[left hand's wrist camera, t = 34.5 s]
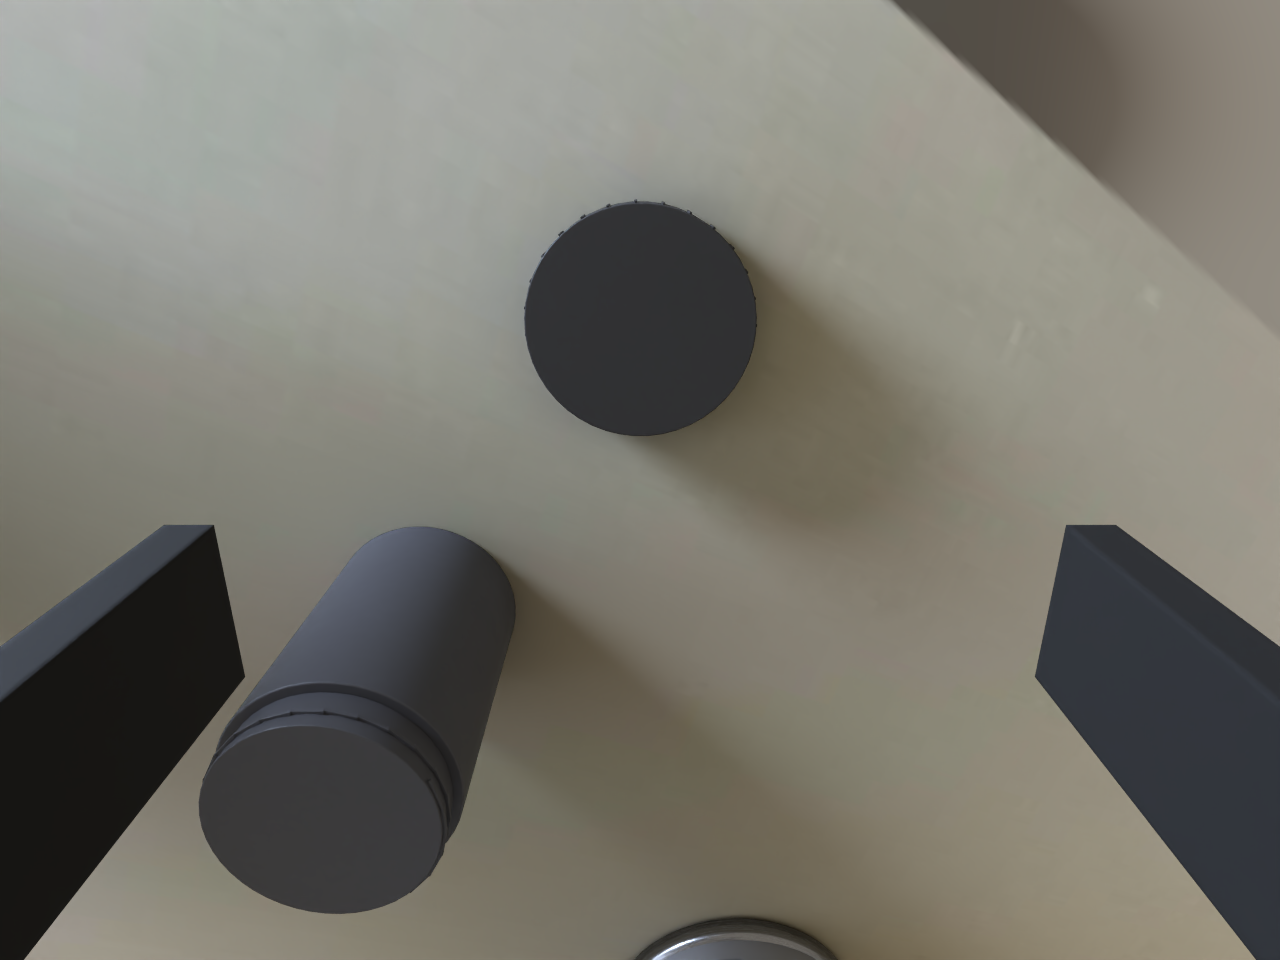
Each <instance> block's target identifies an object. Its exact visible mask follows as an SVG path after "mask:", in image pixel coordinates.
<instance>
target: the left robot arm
mask: <svg viewBox="0 0 1280 960" xmlns="http://www.w3.org/2000/svg"><path fill="white" fill-rule="evenodd" d="M244 677H245V674H244V669H243V664H242V659H241V655H240V650H239V645H238V640H237V635H236V630H235V626H234V621H233V616H232V611H231V606H230V601H229V596H228V592H227V587H226V582H225V577H224V572H223V567H222V562H221V558H220V553H219V548H218V543H217V538H216V533H215V529H214V525H163V526H162V527H161V528H159V529H158V530H157V531H155V532H154V533H153V534H151V535H150V536H149V537H147V538H146V539H145V540H143V541H142V542H141V543H139V544H138V545H136V546H135V547H134V548H132V549H131V550H130V551H128V552H127V553H126V554H124V555H123V556H122V557H120V558H119V559H118V560H116V561H115V562H114V563H112V564H111V565H110V566H108V567H107V568H106V569H104V570H103V571H101V572H100V573H99V574H97V575H96V576H95V577H93V578H92V579H91V580H89V581H88V582H87V583H85V584H84V585H83V586H81V587H80V588H79V589H77V590H76V591H75V592H73V593H72V594H71V595H69V596H68V597H66V598H65V599H64V600H62V601H61V602H60V603H58V604H57V605H56V606H54V607H53V608H52V609H50V610H49V611H48V612H46V613H45V614H44V615H42V616H41V617H40V618H38V619H37V620H36V621H34V622H33V623H31V624H30V625H29V626H27V627H26V628H25V629H23V630H22V631H21V632H19V633H18V634H17V635H15V636H14V637H13V638H11V639H10V640H9V641H7V642H6V643H5V644H3V645H2V646H1V647H0V960H24V959H25V958H26V956H27V955H28V954H29V952H30V951H31V950H32V949H33V947H34V946H35V945H36V944H37V942H38V941H39V940H40V938H41V937H42V936H43V935H44V933H45V932H46V931H47V929H48V928H49V927H50V926H51V924H52V923H53V922H54V921H55V919H56V918H57V917H58V915H59V914H60V913H61V912H62V910H63V909H64V908H65V906H66V905H67V904H68V903H69V901H70V900H71V899H72V897H73V896H74V895H75V894H76V892H77V891H78V890H79V889H80V887H81V886H82V885H83V883H84V882H85V881H86V880H87V878H88V877H89V876H90V874H91V873H92V872H93V871H94V869H95V868H96V867H97V865H98V864H99V863H100V862H101V860H102V859H103V858H104V857H105V855H106V854H107V853H108V851H109V850H110V849H111V848H112V846H113V845H114V844H115V842H116V841H117V840H118V839H119V837H120V836H121V835H122V834H123V832H124V831H125V830H126V828H127V827H128V826H129V825H130V823H131V822H132V821H133V819H134V818H135V817H136V816H137V814H138V813H139V812H140V810H141V809H142V808H143V807H144V805H145V804H146V803H147V802H148V800H149V799H150V798H151V796H152V795H153V794H154V793H155V791H156V790H157V789H158V787H159V786H160V785H161V784H162V782H163V781H164V780H165V779H166V777H167V776H168V775H169V773H170V772H171V771H172V770H173V768H174V767H175V766H176V764H177V763H178V762H179V761H180V759H181V758H182V757H183V755H184V754H185V753H186V752H187V750H188V749H189V748H190V747H191V745H192V744H193V743H194V741H195V740H196V739H197V738H198V736H199V735H200V734H201V732H202V731H203V730H204V729H205V727H206V726H207V725H208V723H209V722H210V721H211V720H212V718H213V717H214V716H215V715H216V713H217V712H218V711H219V709H220V708H221V707H222V706H223V704H224V703H225V702H226V700H227V699H228V698H229V697H230V695H231V694H232V693H233V692H234V690H235V689H236V688H237V686H238V685H239V684H240V683H241V681H242V680H243V679H244ZM1035 677H1036V679H1037V680H1038V681H1039V683H1040V684H1041V685H1042V686H1043V688H1044V689H1045V690H1046V692H1047V693H1048V694H1049V695H1050V697H1051V698H1052V699H1053V700H1054V702H1055V703H1056V704H1057V706H1058V707H1059V708H1060V709H1061V711H1062V712H1063V713H1064V715H1065V716H1066V717H1067V718H1068V720H1069V721H1070V722H1071V723H1072V725H1073V726H1074V727H1075V729H1076V730H1077V731H1078V732H1079V734H1080V735H1081V736H1082V738H1083V739H1084V740H1085V741H1086V743H1087V744H1088V745H1089V747H1090V748H1091V749H1092V750H1093V752H1094V753H1095V754H1096V755H1097V757H1098V758H1099V759H1100V761H1101V762H1102V763H1103V764H1104V766H1105V767H1106V768H1107V770H1108V771H1109V772H1110V773H1111V775H1112V776H1113V777H1114V779H1115V780H1116V781H1117V782H1118V784H1119V785H1120V786H1121V787H1122V789H1123V790H1124V791H1125V793H1126V794H1127V795H1128V796H1129V798H1130V799H1131V800H1132V802H1133V803H1134V804H1135V805H1136V807H1137V808H1138V809H1139V810H1140V812H1141V813H1142V814H1143V816H1144V817H1145V818H1146V819H1147V821H1148V822H1149V823H1150V825H1151V826H1152V827H1153V828H1154V830H1155V831H1156V832H1157V834H1158V835H1159V836H1160V837H1161V839H1162V840H1163V841H1164V842H1165V844H1166V845H1167V846H1168V848H1169V849H1170V850H1171V851H1172V853H1173V854H1174V855H1175V857H1176V858H1177V859H1178V860H1179V862H1180V863H1181V864H1182V865H1183V867H1184V868H1185V869H1186V871H1187V872H1188V873H1189V874H1190V876H1191V877H1192V878H1193V880H1194V881H1195V882H1196V883H1197V885H1198V886H1199V887H1200V889H1201V890H1202V891H1203V892H1204V894H1205V895H1206V896H1207V897H1208V899H1209V900H1210V901H1211V903H1212V904H1213V905H1214V906H1215V908H1216V909H1217V910H1218V912H1219V913H1220V914H1221V915H1222V917H1223V918H1224V919H1225V921H1226V922H1227V923H1228V924H1229V926H1230V927H1231V928H1232V929H1233V931H1234V932H1235V933H1236V935H1237V936H1238V937H1239V938H1240V940H1241V941H1242V942H1243V944H1244V945H1245V946H1246V947H1247V949H1248V950H1249V951H1250V952H1251V954H1252V955H1253V956H1254V958H1255V959H1256V960H1280V647H1279V646H1278V645H1277V644H1275V643H1274V642H1273V641H1271V640H1270V639H1269V638H1267V637H1266V636H1265V635H1263V634H1262V633H1261V632H1259V631H1258V630H1257V629H1255V628H1254V627H1253V626H1251V625H1250V624H1249V623H1247V622H1246V621H1244V620H1243V619H1242V618H1240V617H1239V616H1238V615H1236V614H1235V613H1234V612H1232V611H1231V610H1230V609H1228V608H1227V607H1226V606H1224V605H1223V604H1222V603H1220V602H1219V601H1218V600H1216V599H1215V598H1214V597H1212V596H1211V595H1209V594H1208V593H1207V592H1205V591H1204V590H1203V589H1201V588H1200V587H1199V586H1197V585H1196V584H1195V583H1193V582H1192V581H1191V580H1189V579H1188V578H1187V577H1185V576H1184V575H1183V574H1181V573H1180V572H1179V571H1177V570H1176V569H1174V568H1173V567H1172V566H1170V565H1169V564H1168V563H1166V562H1165V561H1164V560H1162V559H1161V558H1160V557H1158V556H1157V555H1156V554H1154V553H1153V552H1152V551H1150V550H1149V549H1148V548H1146V547H1145V546H1144V545H1142V544H1141V543H1139V542H1138V541H1137V540H1135V539H1134V538H1133V537H1131V536H1130V535H1129V534H1127V533H1126V532H1125V531H1123V530H1122V529H1121V528H1119V527H1118V526H1117V525H1066V529H1065V533H1064V538H1063V543H1062V548H1061V553H1060V558H1059V562H1058V567H1057V572H1056V577H1055V582H1054V587H1053V592H1052V596H1051V601H1050V606H1049V611H1048V616H1047V621H1046V626H1045V630H1044V635H1043V640H1042V645H1041V650H1040V655H1039V659H1038V664H1037V669H1036V674H1035ZM635 960H837V959H836V957H835V956H834V955H833V954H832V953H831V952H830V951H829V950H828V949H827V948H826V947H824V946H823V945H822V944H821V943H819V942H818V941H816V940H815V939H813V938H812V937H810V936H808V935H806V934H804V933H802V932H800V931H798V930H795V929H793V928H790V927H787V926H784V925H780V924H776V923H772V922H767V921H761V920H751V919H725V920H716V921H709V922H704V923H699V924H696V925H692V926H689V927H686V928H683V929H680V930H678V931H675V932H673V933H671V934H669V935H667V936H665V937H663V938H661V939H659V940H658V941H656V942H655V943H653V944H652V945H650V946H649V947H648V948H646V949H645V950H644V951H643V952H642V953H640V954H639V955H638V956H637V958H636V959H635Z"/></svg>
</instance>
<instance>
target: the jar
mask: <svg viewBox="0 0 1280 960" xmlns="http://www.w3.org/2000/svg"><path fill="white" fill-rule="evenodd" d="M514 622H515V601H514V595H513V592H512V589H511V586H510V583H509V581H508V579H507V577H506V575H505V574H504V572H503V571H502V569H501V567H500V566H499V565H498V564H497V562H496V561H495V560H494V559H493V558H492V557H491V556H490V555H489V554H488V553H487V552H486V551H485V550H484V549H482V548H481V547H479V546H478V545H477V544H475V543H474V542H472V541H470V540H468V539H466V538H465V537H463V536H460V535H458V534H455V533H453V532H449V531H446V530H442V529H437V528H430V527H408V528H401V529H397V530H392V531H390V532H387V533H384V534H381V535H379V536H377V537H376V538H374V539H372V540H370V541H369V542H368V543H366V544H365V545H363V546H362V547H361V548H360V549H359V550H358V551H357V552H356V553H355V554H354V556H353V557H352V558H351V559H350V561H349V562H348V563H347V565H346V566H345V567H344V569H343V570H342V571H341V573H340V574H339V575H338V577H337V578H336V579H335V581H334V582H333V583H332V585H331V586H330V588H329V589H328V590H327V592H326V593H325V594H324V596H323V597H322V598H321V600H320V601H319V602H318V604H317V605H316V606H315V608H314V609H313V610H312V612H311V613H310V614H309V616H308V617H307V618H306V620H305V621H304V622H303V624H302V625H301V626H300V628H299V629H298V630H297V632H296V633H295V634H294V636H293V637H292V638H291V640H290V641H289V642H288V644H287V645H286V646H285V648H284V649H283V650H282V652H281V653H280V655H279V656H278V657H277V659H276V660H275V661H274V663H273V664H272V665H271V667H270V668H269V669H268V671H267V672H266V673H265V675H264V676H263V677H262V679H261V680H260V681H259V683H258V684H257V685H256V687H255V688H254V689H253V691H252V692H251V693H250V695H249V696H248V697H247V699H246V700H245V701H244V703H243V704H242V705H241V707H240V708H239V709H238V711H237V712H236V713H235V715H234V716H233V717H232V719H231V720H230V722H229V723H228V724H227V726H226V727H225V729H224V731H223V733H222V735H221V737H220V739H219V742H218V745H217V748H216V753H215V754H214V756H213V758H212V760H211V763H210V765H209V767H208V770H207V772H206V774H205V777H204V778H203V784H202V787H201V791H200V798H199V816H200V821H201V826H202V829H203V832H204V835H205V838H206V840H207V842H208V844H209V845H210V847H211V849H212V851H213V852H214V854H215V855H216V857H217V858H218V859H219V861H220V862H221V863H222V864H223V865H224V866H225V867H226V868H227V870H228V871H229V872H230V873H231V874H233V875H234V876H235V877H236V878H237V879H238V880H240V881H241V882H242V883H244V884H245V885H246V886H248V887H249V888H251V889H252V890H254V891H256V892H258V893H259V894H261V895H263V896H265V897H267V898H269V899H271V900H274V901H276V902H278V903H281V904H284V905H287V906H290V907H293V908H297V909H301V910H306V911H310V912H318V913H330V914H345V913H357V912H362V911H368V910H372V909H376V908H379V907H382V906H385V905H387V904H390V903H392V902H394V901H396V900H398V899H400V898H402V897H403V896H405V895H407V894H408V893H409V892H410V893H411V892H412V891H413V890H414V889H415V888H417V887H418V886H419V885H420V884H421V883H422V882H423V881H424V880H425V879H426V878H427V877H429V876H430V875H431V874H432V872H433V870H434V868H435V867H436V865H437V863H438V862H439V860H440V858H441V856H443V852H444V847H445V843H446V842H447V841H448V840H449V838H450V837H451V835H452V834H453V832H454V831H455V829H456V827H457V825H458V823H459V821H460V817H461V814H462V811H463V807H464V803H465V800H466V796H467V793H468V789H469V785H470V782H471V778H472V775H473V771H474V767H475V764H476V760H477V757H478V753H479V749H480V746H481V742H482V739H483V735H484V731H485V728H486V724H487V721H488V717H489V713H490V710H491V706H492V703H493V699H494V695H495V692H496V688H497V685H498V681H499V677H500V674H501V670H502V667H503V663H504V659H505V656H506V652H507V649H508V645H509V641H510V638H511V634H512V631H513V627H514Z"/></svg>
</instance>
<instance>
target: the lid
mask: <svg viewBox="0 0 1280 960" xmlns="http://www.w3.org/2000/svg"><path fill="white" fill-rule="evenodd" d="M580 218H581V219H580V220H579V221H577V222H576V223H575V224H573V225H572V226H571V227H570V228H568V229H567V230H566V231H565V232H564V231H562V232H561V233H559V234H558V235H559V237H558V238H557V239H556V241H555V242H554V243H553V244H552V245H551V246H550V247H549V249H548V250H547V252H545V253H544V254H543V255H542V256H541V257H542V259H541V260H540V262H539V264H538V266H537V268H536V270H535V272H534V275H533V277H532V279H531V280H530V286H529V289H528V294H527V299H526V304H525V307H524V309H525V317H524V320H525V336H526V340H527V346H528V350H529V353H530V356H531V359H532V362H533V364H534V367H535V369H536V371H537V373H538V375H539V377H540V378H541V380H542V382H543V383H544V385H545V386H546V388H547V389H548V390H549V392H550V393H551V394H552V395H553V396H554V398H555V399H556V400H557V401H558V402H559V403H560V404H561V405H562V406H564V407H565V408H566V409H567V410H568V411H569V412H571V413H572V414H574V415H575V416H576V417H578V418H579V419H581V420H583V421H585V422H587V423H588V424H590V425H592V426H595V427H597V428H600V429H603V430H605V431H609V432H613V433H617V434H622V435H631V436H651V435H658V434H664V433H668V432H672V431H676V430H679V429H681V428H684V427H686V426H689V425H691V424H693V423H694V422H696V421H698V420H700V419H702V418H703V417H705V416H706V415H707V414H709V413H710V412H712V411H713V410H714V409H715V408H716V407H717V406H719V405H720V404H721V403H722V402H723V401H724V400H725V399H726V398H727V396H728V395H729V394H730V393H731V392H732V390H733V389H734V388H735V386H736V385H737V383H738V382H739V380H740V378H741V377H742V375H743V373H744V371H745V369H746V367H747V364H748V362H749V359H750V356H751V353H752V350H753V346H754V340H755V335H756V327H757V324H756V320H757V316H756V304H755V300H756V298H755V297H754V294H753V289H752V286H751V283H750V280H749V277H748V275H747V274H748V271H747V270H746V269H745V268H744V266H743V264H742V262H741V260H740V259H739V257H738V256H737V254H736V253H735V252H734V249H735V248H734V247H733V246H732V245H730V244H728V243H727V242H726V240H725V239H724V238H723V237H722V236H721V235H720V234H719V233H718V232H716V231H715V227H714V226H712V225H710V226H709V225H708V224H706V223H705V222H704V221H702V220H701V219H699V218H697V217H696V216H694V215H692V212H691V211H689V210H688V211H687V212H686V211H684V210H681V209H679V208H677V207H673V206H670V205H666V204H665V202H662V203H655V202H637V199H635V200H634V202H626V203H619V204H615V205H611V206H610V204H608V205H607V206H606V207H605V208H602V209H599V210H597V211H595V212H593V213H590V214H588V215H587V216H585V214H584V215H583V216H582V217H580Z"/></svg>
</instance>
